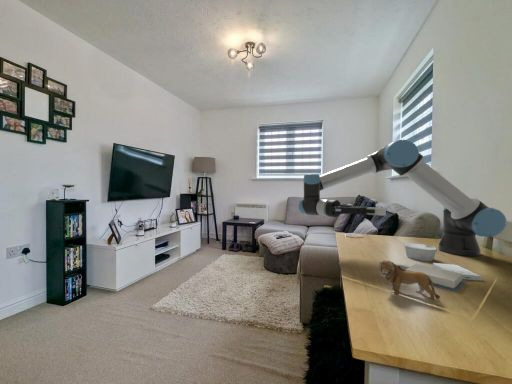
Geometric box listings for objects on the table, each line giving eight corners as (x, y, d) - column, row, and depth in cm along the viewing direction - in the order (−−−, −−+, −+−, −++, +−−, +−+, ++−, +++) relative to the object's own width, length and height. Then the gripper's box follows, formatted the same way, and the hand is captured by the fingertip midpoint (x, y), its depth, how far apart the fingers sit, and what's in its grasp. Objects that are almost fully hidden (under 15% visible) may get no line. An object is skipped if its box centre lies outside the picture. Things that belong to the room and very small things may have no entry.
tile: (416, 263, 84) (462, 273, 75) (416, 270, 84) (462, 281, 75) (405, 269, 78) (454, 281, 68) (405, 276, 78) (454, 289, 68)
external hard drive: (457, 269, 88) (482, 281, 75) (432, 267, 89) (453, 278, 77) (457, 264, 88) (482, 275, 75) (432, 262, 89) (453, 273, 77)
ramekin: (443, 262, 96) (443, 249, 95) (415, 262, 96) (415, 249, 96) (424, 255, 107) (424, 243, 107) (399, 254, 107) (399, 242, 107)
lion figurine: (380, 294, 66) (380, 262, 66) (377, 287, 71) (377, 257, 71) (443, 303, 61) (444, 268, 61) (435, 294, 66) (436, 262, 66)
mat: (398, 266, 90) (398, 264, 90) (468, 282, 75) (468, 281, 75) (382, 274, 82) (382, 272, 82) (457, 294, 66) (457, 293, 66)
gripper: (337, 215, 110) (392, 220, 92) (320, 217, 102) (376, 223, 83) (337, 199, 110) (392, 201, 92) (320, 200, 102) (377, 202, 83)
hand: (384, 212), depth 88 cm, fingers closed
